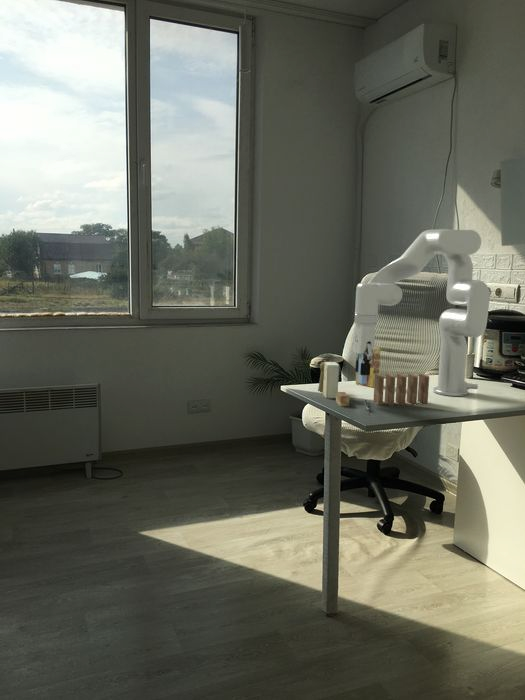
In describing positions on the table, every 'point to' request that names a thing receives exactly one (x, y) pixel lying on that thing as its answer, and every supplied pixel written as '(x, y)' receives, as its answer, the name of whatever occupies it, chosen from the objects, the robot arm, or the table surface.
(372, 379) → the candy box
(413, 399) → the domino
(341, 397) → the end block
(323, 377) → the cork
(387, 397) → the domino
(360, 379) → the domino
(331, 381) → the skincare box
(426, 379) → the domino
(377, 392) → the domino
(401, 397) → the domino
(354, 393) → the table surface
